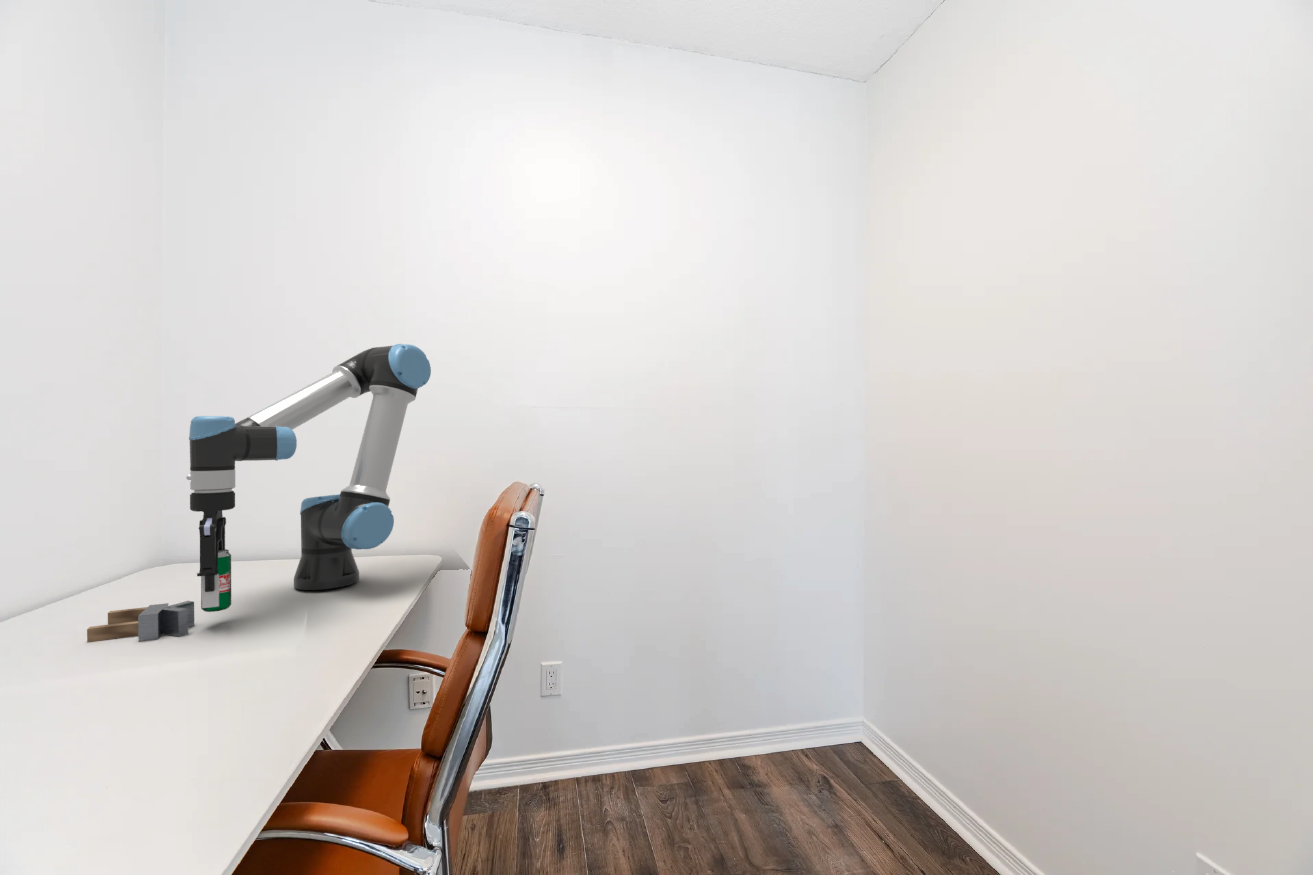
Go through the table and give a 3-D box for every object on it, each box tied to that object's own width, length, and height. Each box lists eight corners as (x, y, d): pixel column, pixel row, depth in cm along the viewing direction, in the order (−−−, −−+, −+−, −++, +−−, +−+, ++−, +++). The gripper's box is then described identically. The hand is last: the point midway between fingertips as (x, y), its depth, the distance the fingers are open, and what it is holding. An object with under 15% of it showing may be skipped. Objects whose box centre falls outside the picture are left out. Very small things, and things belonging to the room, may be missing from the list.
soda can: (216, 613, 122) (216, 553, 122) (194, 612, 123) (194, 553, 123) (237, 606, 127) (237, 549, 127) (216, 605, 128) (216, 548, 128)
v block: (195, 623, 127) (195, 600, 127) (186, 635, 119) (186, 610, 119) (150, 629, 123) (150, 604, 123) (138, 641, 116) (137, 615, 116)
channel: (158, 617, 131) (158, 605, 131) (140, 635, 120) (140, 622, 120) (110, 622, 128) (110, 610, 128) (87, 641, 116) (87, 628, 116)
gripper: (199, 488, 131) (199, 595, 131) (179, 495, 115) (180, 617, 115) (241, 486, 134) (241, 591, 135) (227, 493, 118) (228, 612, 118)
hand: (213, 603), depth 125 cm, fingers closed on soda can, 5 cm apart
